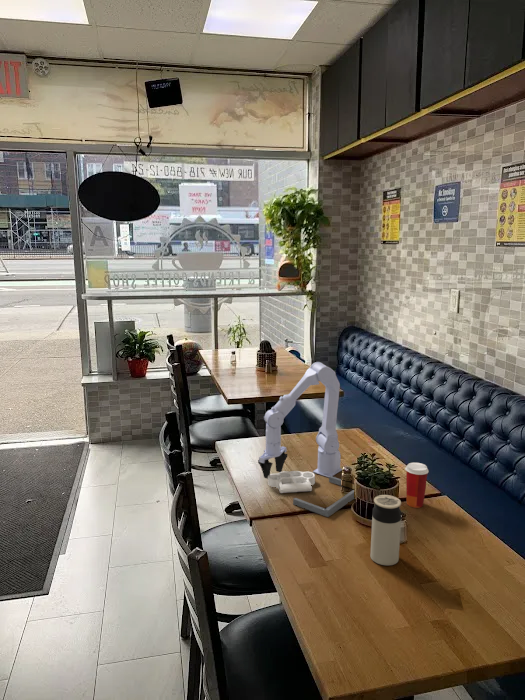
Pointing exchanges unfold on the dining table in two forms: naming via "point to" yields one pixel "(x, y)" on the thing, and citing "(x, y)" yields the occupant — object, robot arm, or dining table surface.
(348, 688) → the dining table surface
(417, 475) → the paper cup
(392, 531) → the travel mug
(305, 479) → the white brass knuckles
